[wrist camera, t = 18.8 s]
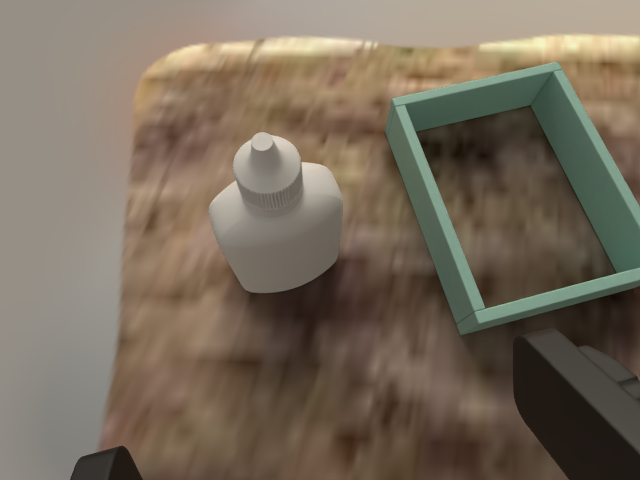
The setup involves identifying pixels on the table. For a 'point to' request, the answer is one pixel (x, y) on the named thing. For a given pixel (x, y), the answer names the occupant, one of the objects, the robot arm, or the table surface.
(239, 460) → the table surface
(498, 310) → the green rectangular frame
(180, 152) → the table surface
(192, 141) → the table surface
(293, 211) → the eye dropper bottle
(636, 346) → the table surface
